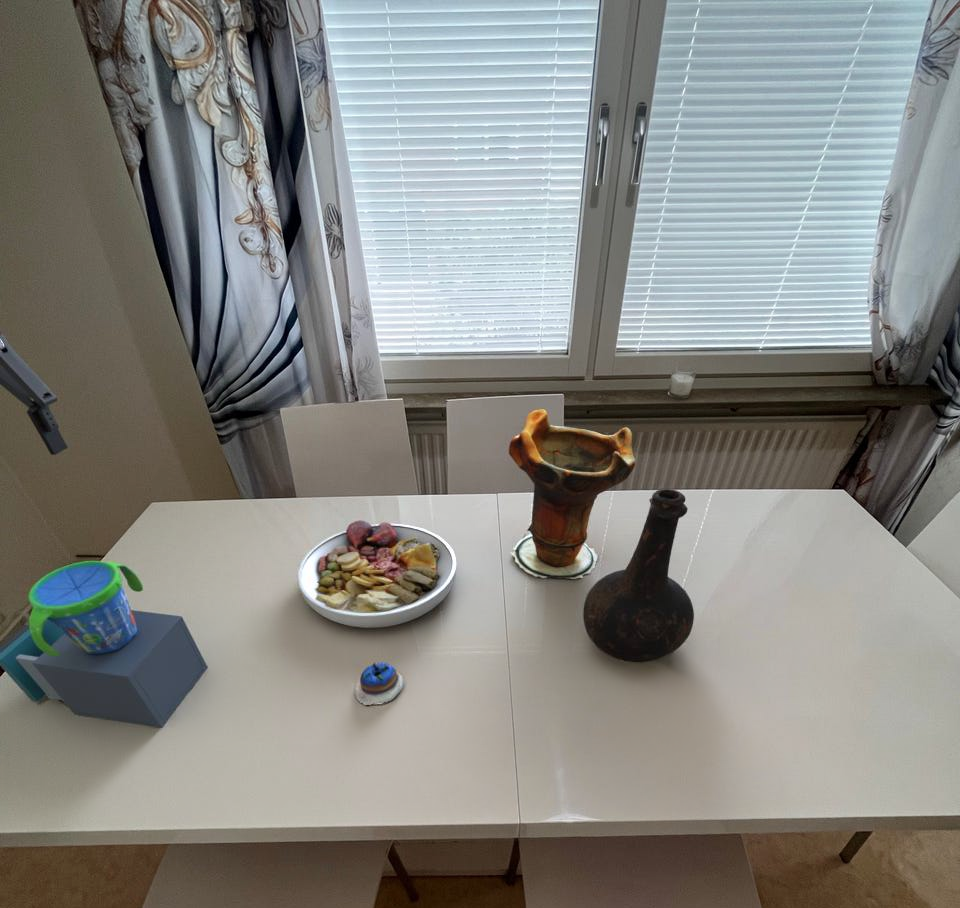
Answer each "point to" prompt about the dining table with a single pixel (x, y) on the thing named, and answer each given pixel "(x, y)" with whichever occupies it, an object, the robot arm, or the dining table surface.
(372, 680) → the dessert
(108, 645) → the snack cup
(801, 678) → the dining table surface
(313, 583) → the bowl
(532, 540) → the decorative vase
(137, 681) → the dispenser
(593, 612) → the glass bottle
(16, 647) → the drawer
